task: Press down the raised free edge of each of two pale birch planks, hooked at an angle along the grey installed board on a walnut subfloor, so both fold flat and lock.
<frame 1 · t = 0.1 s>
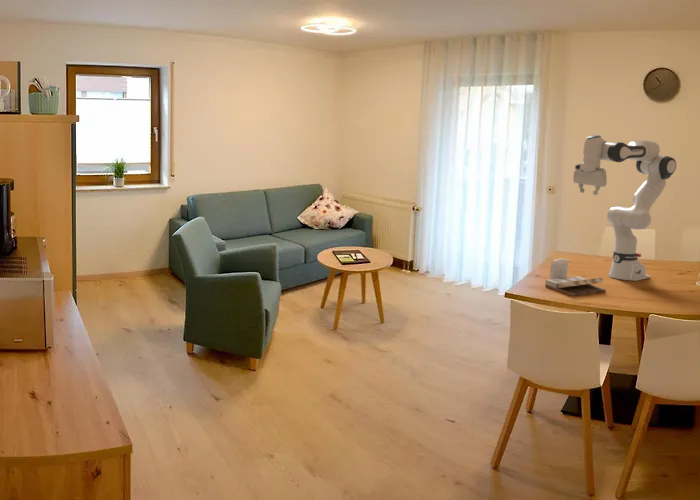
hand: (588, 193, 362), 48 cm above the table, tool pointing down, fingers open, 8 cm apart
floor section: (575, 289, 357), on the table
plank 1: (571, 283, 351), point 4 cm above the table, hinge at 20.0°
plank 2: (588, 281, 356), point 4 cm above the table, hinge at 20.0°
grey arched block: (558, 281, 374), on the table
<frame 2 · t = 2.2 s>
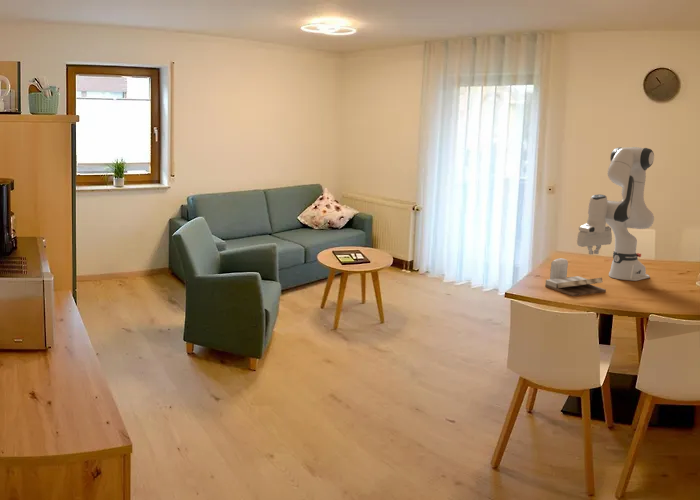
hand: (593, 254, 351), 19 cm above the table, tool pointing down, fingers closed
nothing on the table moved.
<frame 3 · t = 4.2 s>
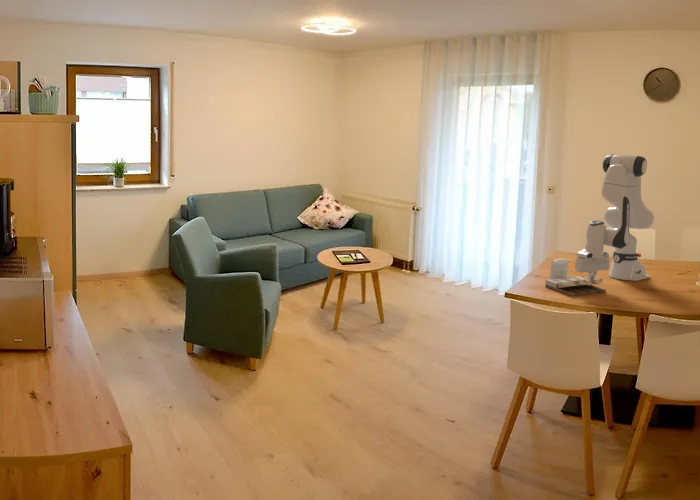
hand: (591, 279, 353), 6 cm above the table, tool pointing down, fingers closed, pressing on plank 2
plank 2: (588, 282, 356), point 4 cm above the table, hinge at 16.4°, touching gripper
everything else where it was.
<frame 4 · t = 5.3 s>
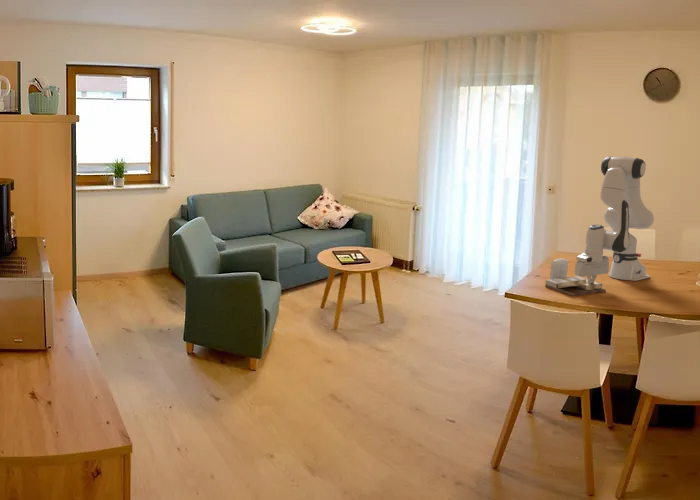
hand: (590, 283, 354), 4 cm above the table, tool pointing down, fingers closed
plank 2: (587, 284, 356), point 2 cm above the table, hinge at 0.5°
everything else where it was.
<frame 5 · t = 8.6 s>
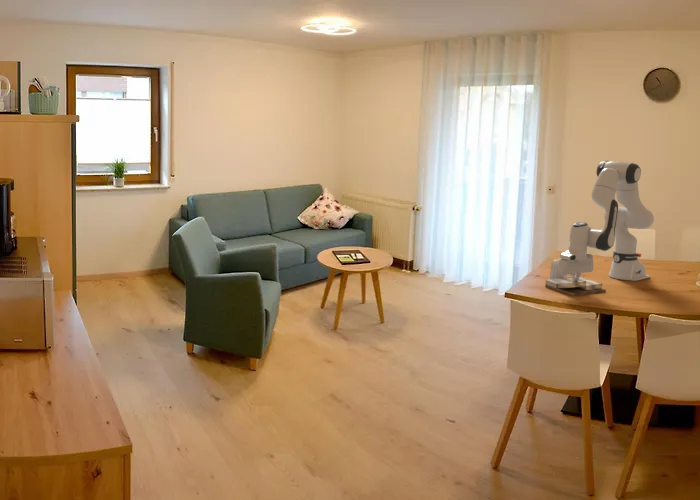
hand: (574, 281, 349), 6 cm above the table, tool pointing down, fingers closed, pressing on plank 1
plank 1: (571, 284, 351), point 4 cm above the table, hinge at 15.4°, touching gripper
everything else where it was.
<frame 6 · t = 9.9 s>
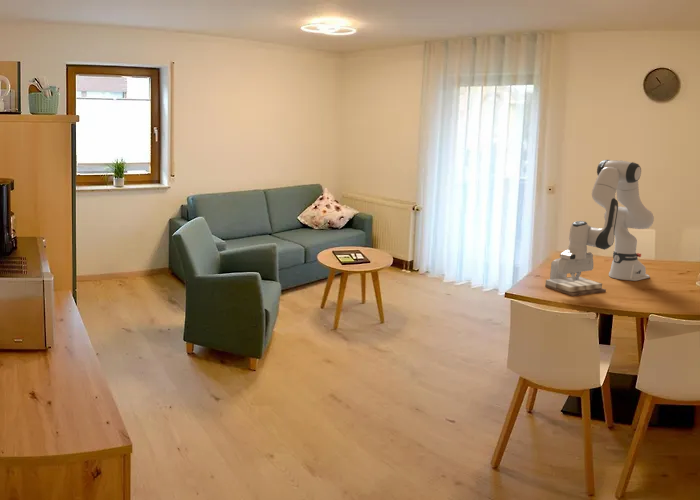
hand: (575, 280, 349), 6 cm above the table, tool pointing down, fingers closed
plank 1: (571, 286, 351), point 3 cm above the table, hinge at 0.7°
everything else where it was.
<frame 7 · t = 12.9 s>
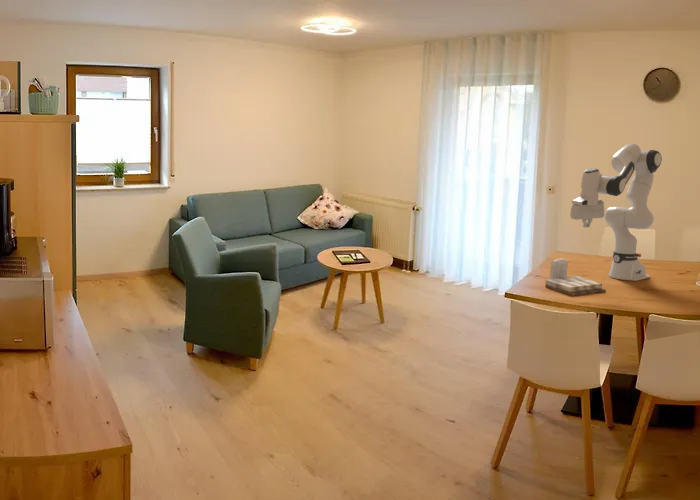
hand: (586, 227, 359), 31 cm above the table, tool pointing down, fingers closed
nothing on the table moved.
at the end: plank 2 at +0° (first picture: +20°); plank 1 at +1° (first picture: +20°); grey arched block moved 0.2 cm from its start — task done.
